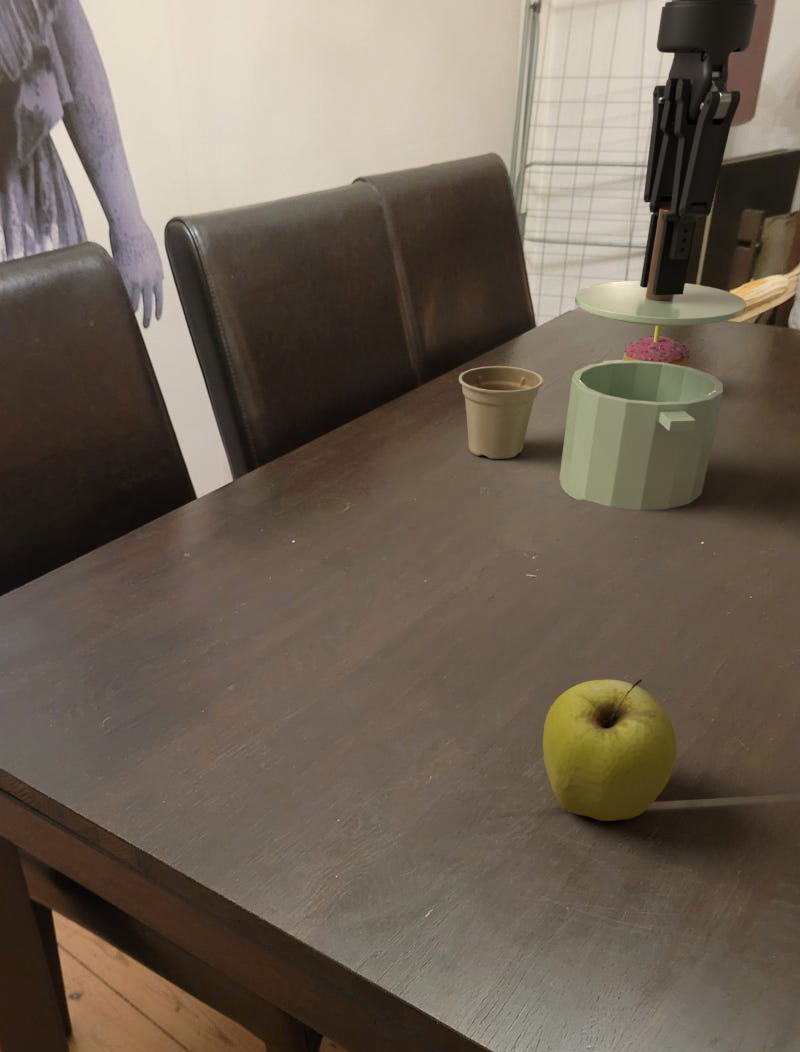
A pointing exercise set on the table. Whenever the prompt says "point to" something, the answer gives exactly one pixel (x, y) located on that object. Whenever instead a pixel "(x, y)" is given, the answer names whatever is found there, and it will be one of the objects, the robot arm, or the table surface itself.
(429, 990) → the table surface
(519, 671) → the table surface
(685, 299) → the pot lid
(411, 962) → the table surface
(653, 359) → the cupcake
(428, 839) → the table surface
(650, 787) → the apple
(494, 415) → the flower pot
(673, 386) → the pot
